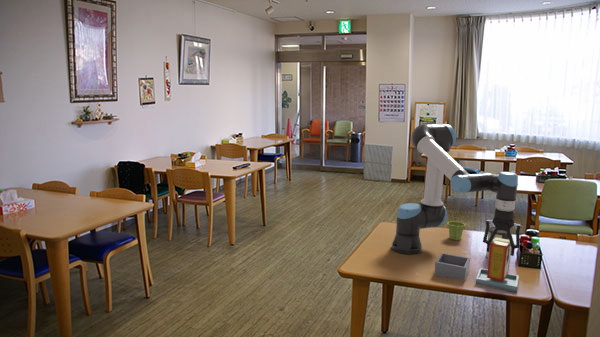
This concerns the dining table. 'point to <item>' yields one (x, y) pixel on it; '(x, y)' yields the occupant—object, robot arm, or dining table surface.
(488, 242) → the robot arm
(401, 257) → the dining table surface
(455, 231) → the plant pot
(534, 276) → the dining table surface
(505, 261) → the baking soda box
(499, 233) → the coffee can
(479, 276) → the tray
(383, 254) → the dining table surface
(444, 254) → the box
